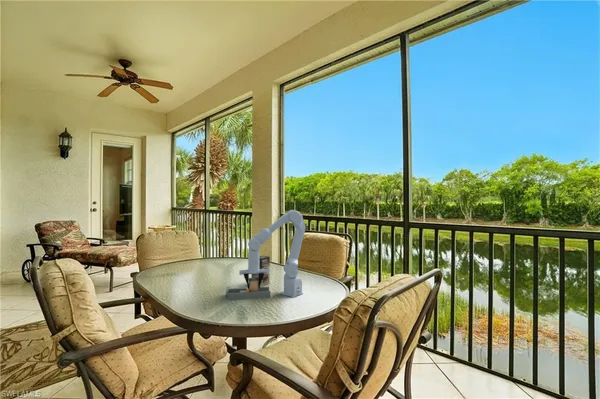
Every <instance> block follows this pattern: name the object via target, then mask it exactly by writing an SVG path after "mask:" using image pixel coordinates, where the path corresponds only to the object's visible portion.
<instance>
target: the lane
mask: <svg viewBox="0 0 600 399" xmlns="http://www.w3.org/2000/svg"><path fill="white" fill-rule="evenodd" d="M247 288H248V287H240V288H239V287H237V288H229V286H226V289H225V300H226V301H234V300H235V301H237V300H251V299H252V300H253V299H267V298H269V299H270V298H273V295H272V292H271V290H270V286H261V287H260V288H258V292H241V293H240V291H242V290H247Z"/></svg>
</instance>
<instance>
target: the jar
mask: <svg viewBox="0 0 600 399" xmlns="http://www.w3.org/2000/svg"><path fill="white" fill-rule="evenodd" d="M258 284H259V278H257V277H252V276H251V277H249V292H258Z"/></svg>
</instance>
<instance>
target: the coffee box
mask: <svg viewBox="0 0 600 399" xmlns="http://www.w3.org/2000/svg"><path fill="white" fill-rule="evenodd" d="M270 260H271V258H270V256H267V255H259V269H268V274H264V277H263V279H262V281H261V284H260V287H265V286H266V285H269V284H270V272H271V271H270V263H271V262H270ZM252 277H257V278H259V274H251V278H252Z"/></svg>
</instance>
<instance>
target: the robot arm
mask: <svg viewBox="0 0 600 399" xmlns="http://www.w3.org/2000/svg"><path fill="white" fill-rule="evenodd" d="M289 223H291V224H292V225H293V227H294V228H295V230H294V234H293V237H292V238H293V240H292V243H291V247H290V251H289V254H288V258H287V260H286V262H285V264H284V265H283V271H284V274H283V291H280V292H279V293H280V294H281V295H284V296H288V297H290V298H291V297H292V298H295V297H298V296H301V295H303V294H304V293H303V282H302V280H301V279H300V278H299V277H298V273H299V269H298V266H299V257H300V252H301V249H302V243H303V240H304V236H305V231H306V223H305V220H304V218H303V215H302V214H301V213H300V211H298V210H294V209H290V210H288V211H287V212H285V213H284V214H283V215H281V216H280V217H278V219H277V220H276V221H274V222H273V223H272V224H270V226H269V227H267V228H266V227H264V228H261V229H259V232H258V233H257V234H256V235H255V234H254V235H253V236H252V238H250V239H249V240H248V243H247V246H248V254H247V258H248V259H247V260H248V261H247V262H248V264H247V265H248V266H247V269H241V270H239V274H238V275H239V276H243V277H244V279H245V280H244V281H245V282H246V286H247V287H246V288H248V289H249V278H250V276H249V275H252V274H259V284H258V288H260V284H261V281H262V279H263V277H264V274H268V269H259V256H260V254H261V253H260V248H261V245H263V244H265V243H266V242H267V241H268V240H270V238H272V237H273V236H272V235H273V233H274V232H275V231H277V230H278V229H279V228H280V227H282V226H283V225H284V224H289Z"/></svg>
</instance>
